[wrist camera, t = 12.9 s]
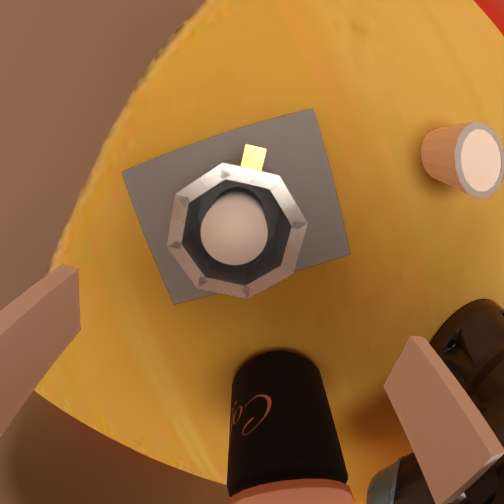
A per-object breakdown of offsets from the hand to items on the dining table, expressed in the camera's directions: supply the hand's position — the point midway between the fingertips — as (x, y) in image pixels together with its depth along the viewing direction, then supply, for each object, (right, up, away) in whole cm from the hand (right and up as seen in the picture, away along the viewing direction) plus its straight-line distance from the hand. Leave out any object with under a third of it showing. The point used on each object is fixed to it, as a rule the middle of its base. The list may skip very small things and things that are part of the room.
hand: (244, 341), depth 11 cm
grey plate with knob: (-1, +7, +18) cm, 19 cm away
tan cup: (+20, +13, +16) cm, 29 cm away
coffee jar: (+3, -12, +25) cm, 28 cm away
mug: (-1, +7, +17) cm, 18 cm away
